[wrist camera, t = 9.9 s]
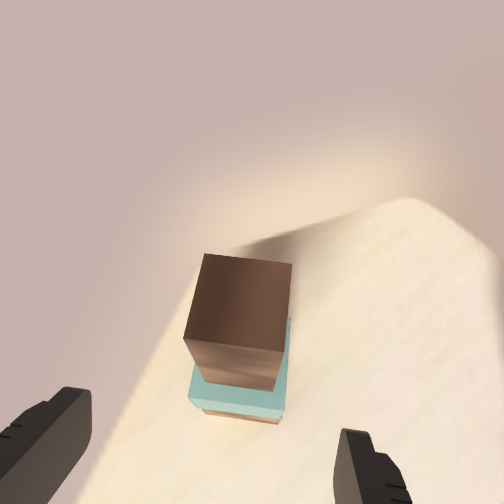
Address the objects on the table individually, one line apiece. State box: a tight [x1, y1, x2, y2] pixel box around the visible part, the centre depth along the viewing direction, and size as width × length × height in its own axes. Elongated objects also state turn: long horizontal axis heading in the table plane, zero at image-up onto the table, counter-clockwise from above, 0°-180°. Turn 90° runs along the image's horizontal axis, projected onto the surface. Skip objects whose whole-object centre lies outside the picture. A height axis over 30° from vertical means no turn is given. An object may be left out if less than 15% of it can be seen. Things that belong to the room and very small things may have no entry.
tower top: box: [188, 318, 291, 419], centre depth 28 cm, size 7×7×5 cm
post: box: [183, 254, 292, 392], centre depth 22 cm, size 5×5×10 cm
